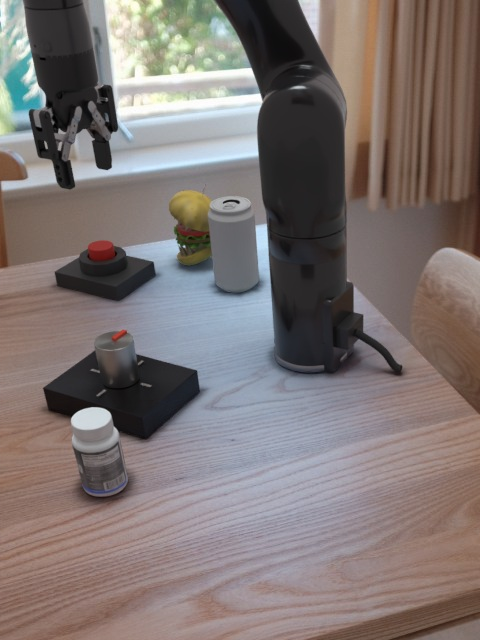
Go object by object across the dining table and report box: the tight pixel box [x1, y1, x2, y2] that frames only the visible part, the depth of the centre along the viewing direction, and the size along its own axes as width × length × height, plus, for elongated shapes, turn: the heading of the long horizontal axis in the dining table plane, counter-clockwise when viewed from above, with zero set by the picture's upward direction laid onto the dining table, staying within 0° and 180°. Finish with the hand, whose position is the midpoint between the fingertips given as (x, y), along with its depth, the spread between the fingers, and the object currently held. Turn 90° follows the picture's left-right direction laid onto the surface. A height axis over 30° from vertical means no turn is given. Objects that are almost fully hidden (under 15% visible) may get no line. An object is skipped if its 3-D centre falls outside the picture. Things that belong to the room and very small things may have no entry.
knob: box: [93, 329, 140, 388], centre depth 104 cm, size 4×4×5 cm
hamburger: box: [168, 183, 213, 266], centre depth 133 cm, size 8×7×12 cm
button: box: [87, 239, 115, 261], centre depth 129 cm, size 4×4×2 cm
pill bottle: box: [70, 407, 129, 498], centre depth 93 cm, size 5×5×8 cm
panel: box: [42, 350, 201, 440], centre depth 107 cm, size 14×11×3 cm
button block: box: [54, 245, 157, 302], centre depth 131 cm, size 11×9×4 cm
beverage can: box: [208, 195, 260, 294], centre depth 127 cm, size 6×6×12 cm
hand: (86, 178), depth 123 cm, fingers open, 7 cm apart
